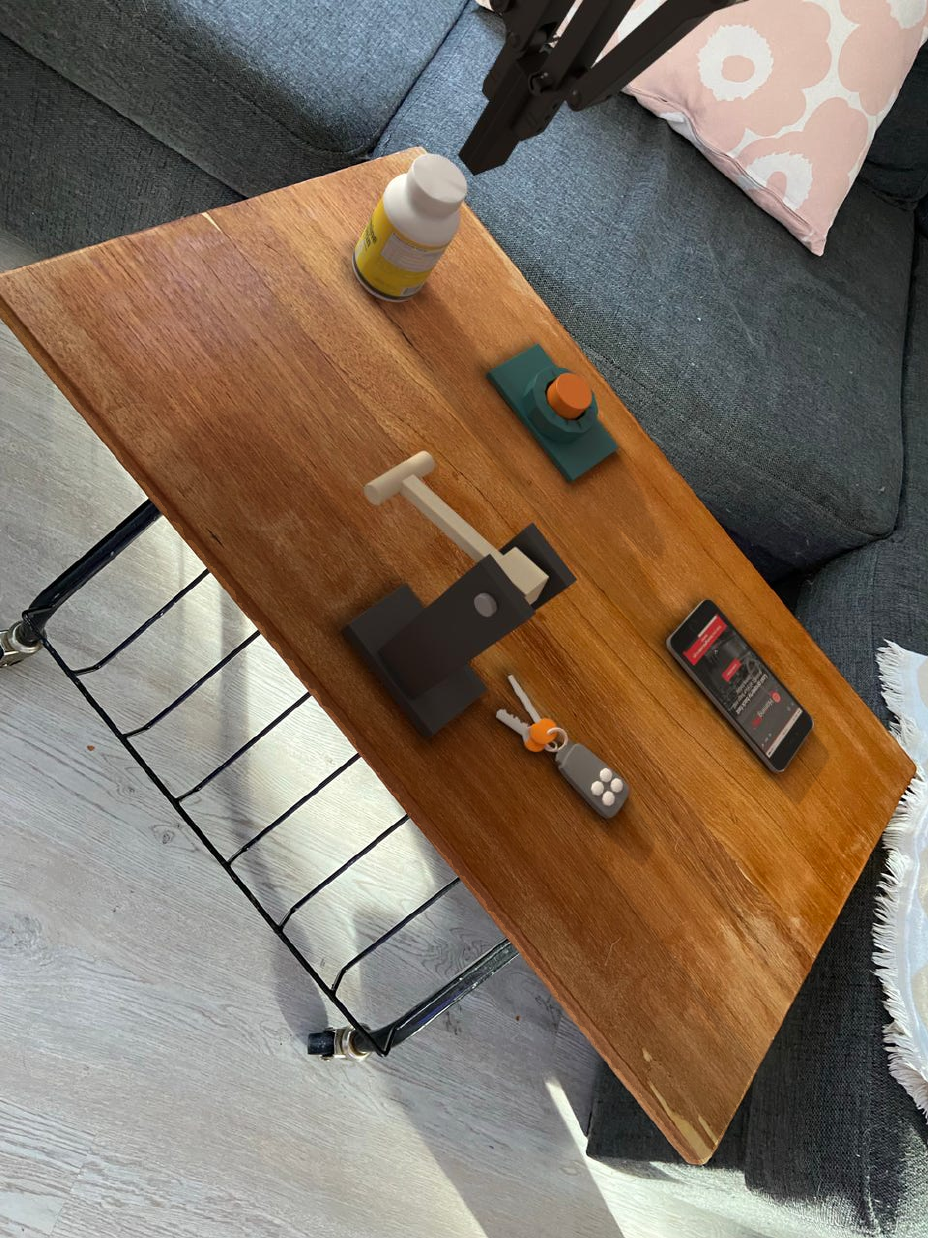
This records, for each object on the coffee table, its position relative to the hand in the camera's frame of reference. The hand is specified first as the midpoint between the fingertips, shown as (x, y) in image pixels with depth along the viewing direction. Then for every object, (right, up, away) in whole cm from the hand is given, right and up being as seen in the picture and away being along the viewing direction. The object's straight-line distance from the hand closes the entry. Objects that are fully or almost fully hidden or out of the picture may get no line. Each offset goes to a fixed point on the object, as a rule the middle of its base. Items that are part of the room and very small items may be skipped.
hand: (481, 159), depth 55 cm
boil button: (+8, -7, +30) cm, 32 cm away
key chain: (+6, -36, +20) cm, 42 cm away
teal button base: (+7, -8, +32) cm, 34 cm away
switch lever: (-1, -21, +6) cm, 22 cm away
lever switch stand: (-5, -29, +17) cm, 34 cm away
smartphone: (+23, -32, +31) cm, 50 cm away
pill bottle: (-8, +4, +29) cm, 31 cm away
